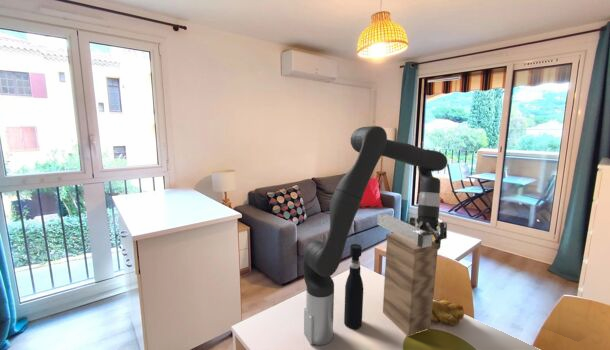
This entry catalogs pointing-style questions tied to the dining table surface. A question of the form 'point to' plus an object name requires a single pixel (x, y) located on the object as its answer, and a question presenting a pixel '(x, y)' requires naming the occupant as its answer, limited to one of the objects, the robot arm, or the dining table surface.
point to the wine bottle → (354, 291)
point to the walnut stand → (409, 283)
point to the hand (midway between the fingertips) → (425, 247)
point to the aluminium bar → (405, 230)
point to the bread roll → (446, 312)
